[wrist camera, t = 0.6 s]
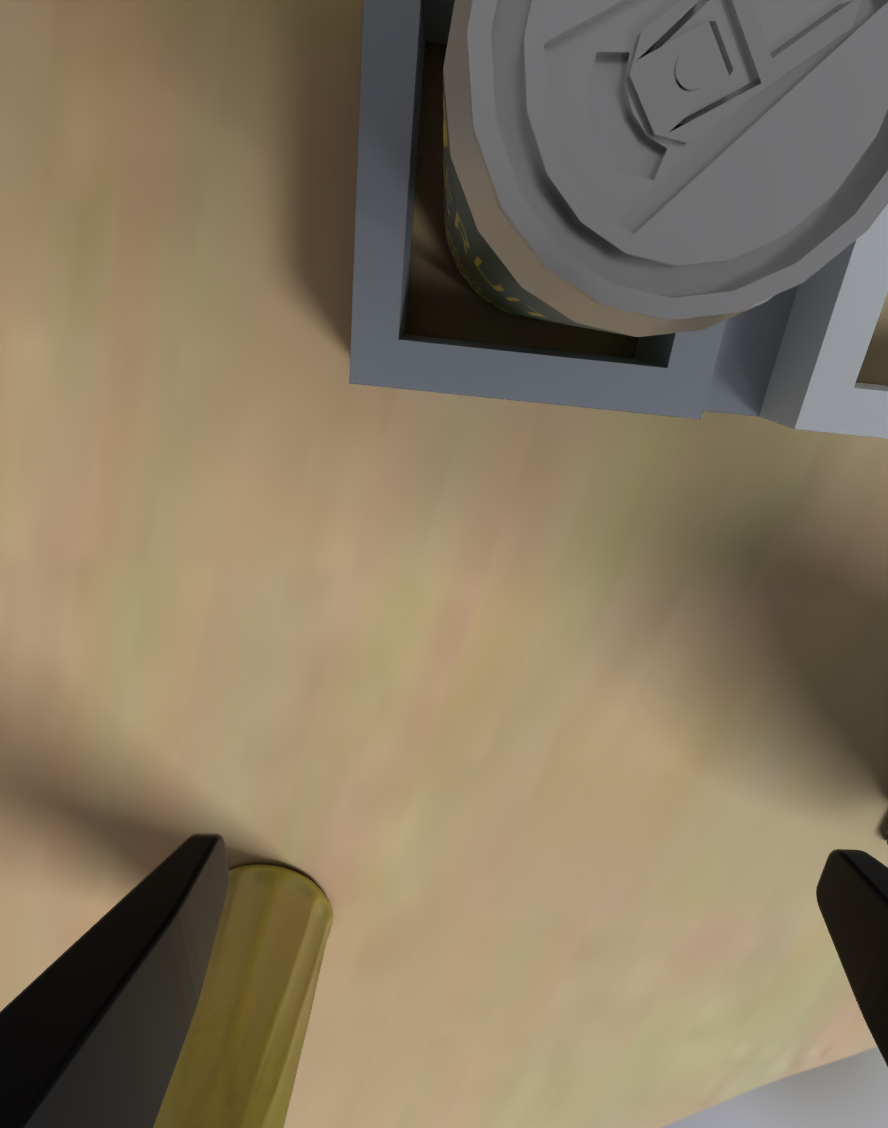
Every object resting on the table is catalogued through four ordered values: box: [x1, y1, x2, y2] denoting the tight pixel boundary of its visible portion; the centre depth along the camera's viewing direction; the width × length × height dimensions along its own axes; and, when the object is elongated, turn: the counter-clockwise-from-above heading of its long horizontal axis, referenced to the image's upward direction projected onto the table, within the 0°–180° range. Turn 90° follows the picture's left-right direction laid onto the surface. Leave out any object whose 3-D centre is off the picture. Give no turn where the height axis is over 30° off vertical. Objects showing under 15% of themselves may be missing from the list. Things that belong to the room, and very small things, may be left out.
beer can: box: [443, 0, 888, 337], centre depth 11 cm, size 5×5×12 cm
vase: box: [153, 864, 333, 1128], centre depth 21 cm, size 6×6×14 cm
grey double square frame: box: [349, 0, 888, 439], centre depth 16 cm, size 21×9×3 cm, turn 84°
